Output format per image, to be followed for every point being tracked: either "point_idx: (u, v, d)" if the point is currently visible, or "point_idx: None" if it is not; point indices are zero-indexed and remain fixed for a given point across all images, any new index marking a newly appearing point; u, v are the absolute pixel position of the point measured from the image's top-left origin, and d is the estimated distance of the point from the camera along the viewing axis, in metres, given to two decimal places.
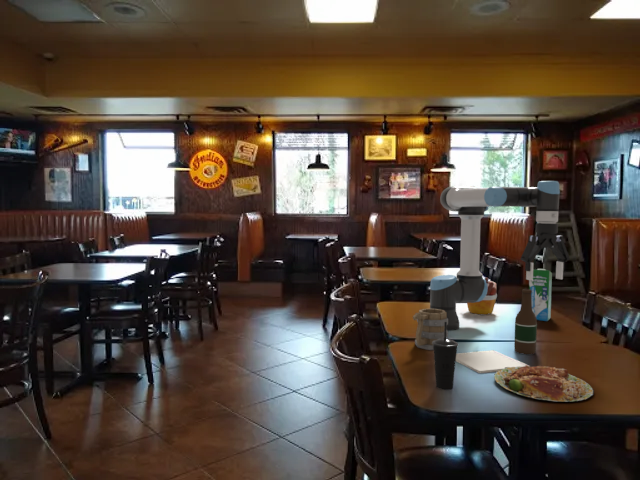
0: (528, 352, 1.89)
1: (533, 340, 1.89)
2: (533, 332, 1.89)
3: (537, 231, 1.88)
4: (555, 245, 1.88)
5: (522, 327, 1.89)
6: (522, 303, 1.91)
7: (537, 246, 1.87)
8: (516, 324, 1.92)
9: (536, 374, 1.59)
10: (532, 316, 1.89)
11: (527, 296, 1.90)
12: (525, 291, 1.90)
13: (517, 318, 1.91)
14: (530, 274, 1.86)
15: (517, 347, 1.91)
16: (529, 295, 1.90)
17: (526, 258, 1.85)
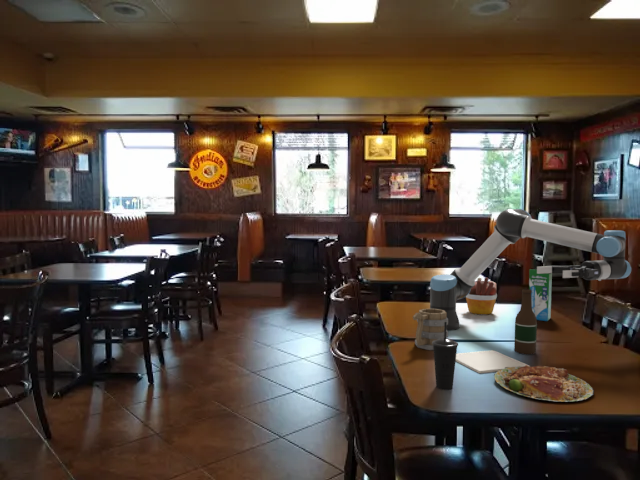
0: (528, 352, 1.89)
1: (533, 340, 1.89)
2: (533, 332, 1.89)
3: None
4: None
5: (522, 327, 1.89)
6: (522, 303, 1.91)
7: None
8: (516, 324, 1.92)
9: (536, 374, 1.59)
10: (532, 316, 1.89)
11: (527, 296, 1.90)
12: (525, 291, 1.90)
13: (517, 318, 1.91)
14: (568, 276, 1.88)
15: (517, 347, 1.91)
16: (529, 295, 1.90)
17: (586, 277, 1.87)
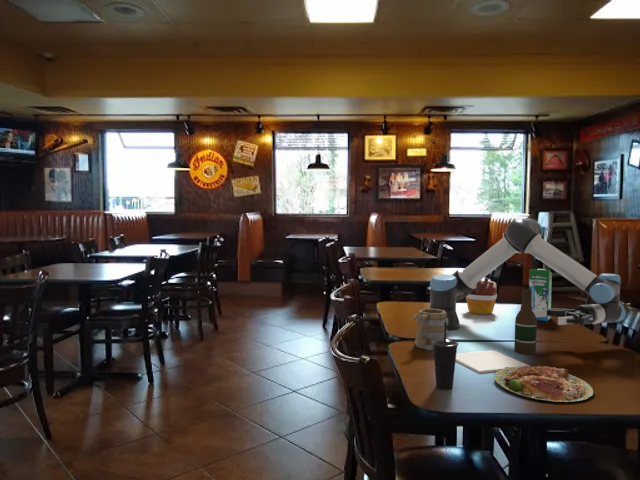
0: (528, 352, 1.89)
1: (533, 340, 1.89)
2: (533, 332, 1.89)
3: (590, 315, 1.96)
4: None
5: (522, 327, 1.89)
6: (522, 303, 1.91)
7: (579, 318, 1.94)
8: (516, 324, 1.92)
9: (536, 374, 1.59)
10: (532, 316, 1.89)
11: (527, 296, 1.90)
12: (525, 291, 1.90)
13: (517, 318, 1.91)
14: (563, 323, 1.88)
15: (517, 347, 1.91)
16: (529, 295, 1.90)
17: None
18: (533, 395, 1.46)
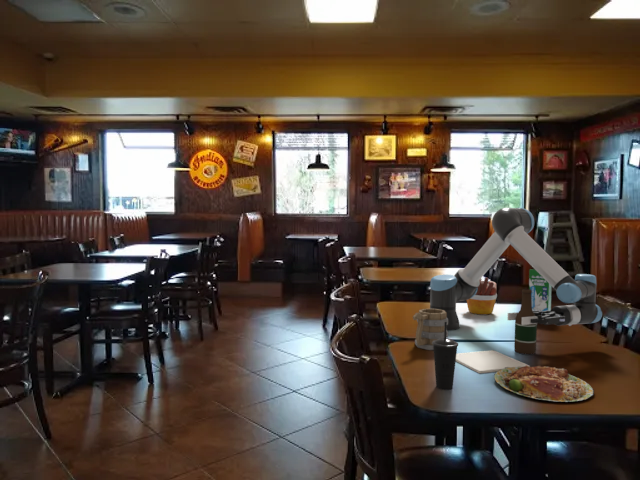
0: (528, 352, 1.89)
1: (533, 340, 1.89)
2: (533, 332, 1.89)
3: (564, 316, 1.93)
4: None
5: (522, 327, 1.89)
6: (522, 303, 1.91)
7: None
8: (516, 324, 1.92)
9: (536, 374, 1.59)
10: (532, 316, 1.89)
11: (527, 296, 1.90)
12: (525, 291, 1.90)
13: (517, 318, 1.91)
14: (527, 323, 1.87)
15: (517, 347, 1.91)
16: (529, 295, 1.90)
17: None
18: (533, 395, 1.46)
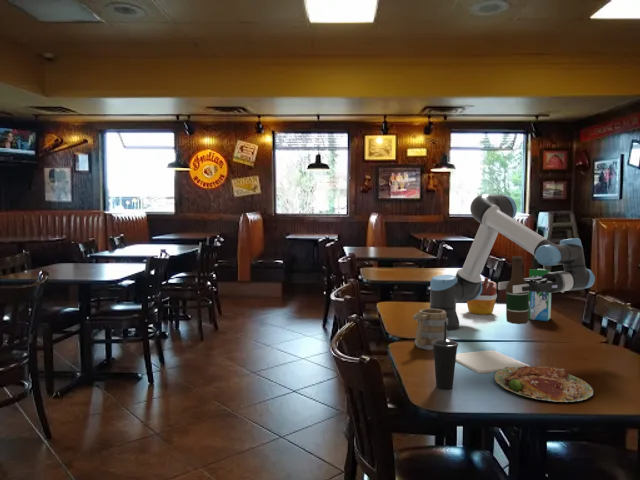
0: (521, 321, 1.81)
1: (525, 309, 1.81)
2: (525, 300, 1.81)
3: (557, 283, 1.85)
4: None
5: (514, 296, 1.81)
6: (513, 271, 1.83)
7: None
8: (507, 293, 1.84)
9: (536, 374, 1.59)
10: None
11: (518, 263, 1.82)
12: (515, 258, 1.82)
13: (508, 287, 1.83)
14: (519, 291, 1.79)
15: (509, 317, 1.83)
16: (520, 262, 1.82)
17: None
18: (533, 395, 1.46)
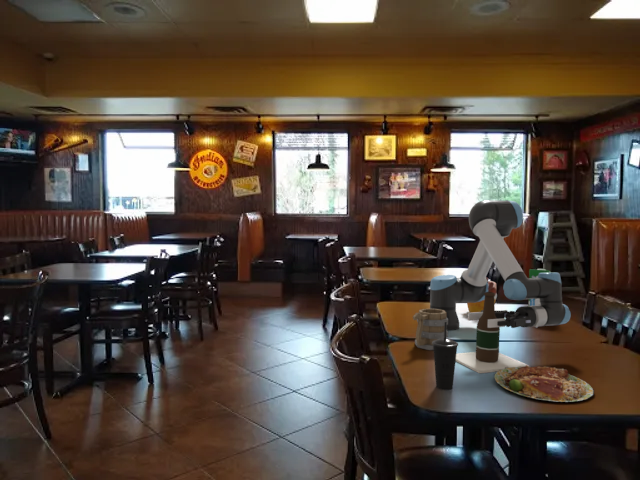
0: (490, 360, 1.76)
1: (495, 347, 1.76)
2: (495, 338, 1.75)
3: (529, 317, 1.79)
4: None
5: (484, 333, 1.76)
6: (484, 307, 1.78)
7: None
8: (478, 329, 1.78)
9: (536, 374, 1.59)
10: None
11: (489, 300, 1.77)
12: (487, 294, 1.77)
13: (479, 323, 1.78)
14: (494, 326, 1.72)
15: (478, 354, 1.78)
16: (492, 298, 1.77)
17: None
18: (533, 395, 1.46)
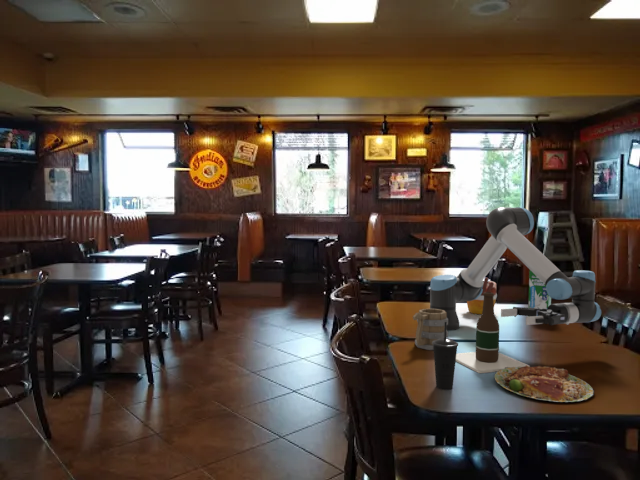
0: (489, 360, 1.76)
1: (495, 347, 1.76)
2: (495, 338, 1.75)
3: None
4: None
5: (484, 333, 1.76)
6: (483, 307, 1.78)
7: None
8: (477, 330, 1.78)
9: (536, 374, 1.59)
10: (494, 321, 1.76)
11: (489, 300, 1.76)
12: (486, 294, 1.76)
13: (478, 323, 1.78)
14: (532, 323, 1.75)
15: (478, 355, 1.78)
16: (491, 299, 1.76)
17: None
18: (533, 395, 1.46)
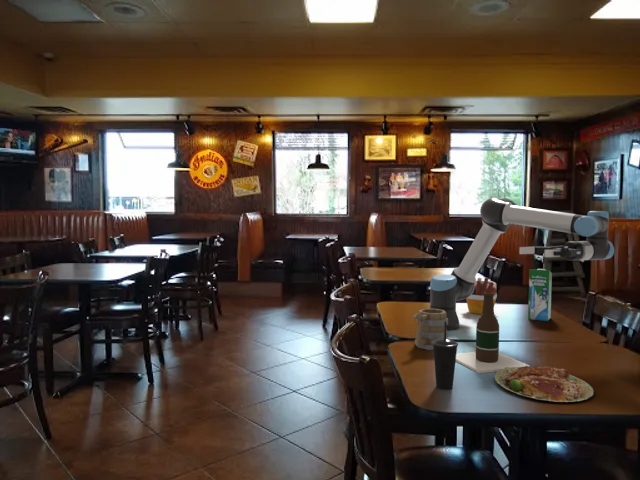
0: (489, 360, 1.76)
1: (495, 347, 1.76)
2: (494, 338, 1.75)
3: None
4: None
5: (484, 333, 1.76)
6: (483, 307, 1.78)
7: None
8: (477, 330, 1.78)
9: (536, 374, 1.59)
10: (494, 321, 1.76)
11: (489, 300, 1.76)
12: (486, 294, 1.76)
13: (478, 323, 1.78)
14: (550, 255, 1.86)
15: (478, 355, 1.78)
16: (491, 299, 1.76)
17: (568, 256, 1.85)
18: (533, 395, 1.46)
